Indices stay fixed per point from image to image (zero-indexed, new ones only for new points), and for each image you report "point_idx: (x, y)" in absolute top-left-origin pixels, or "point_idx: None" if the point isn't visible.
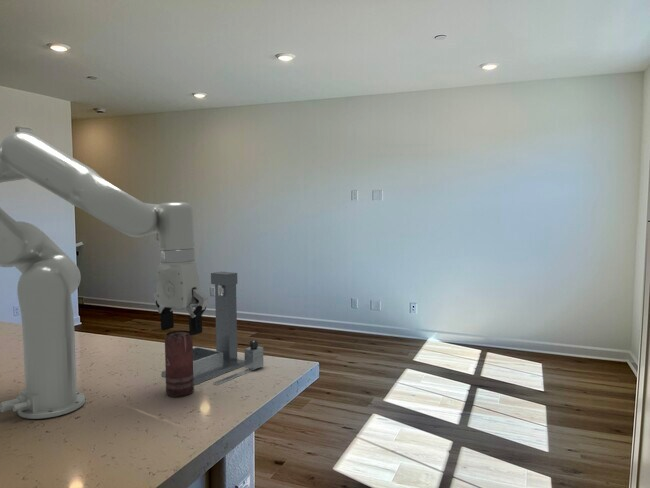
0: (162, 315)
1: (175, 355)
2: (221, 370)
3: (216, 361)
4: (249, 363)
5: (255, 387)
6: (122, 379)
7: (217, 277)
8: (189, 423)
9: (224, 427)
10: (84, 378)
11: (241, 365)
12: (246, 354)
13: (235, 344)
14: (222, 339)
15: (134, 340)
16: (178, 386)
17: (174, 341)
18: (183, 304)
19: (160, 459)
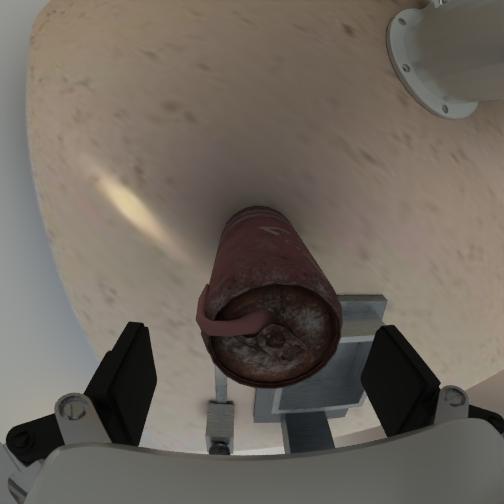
0: (419, 381)
1: (235, 248)
2: None
3: None
4: (219, 412)
5: None
6: (443, 235)
7: None
8: (98, 127)
9: (41, 161)
10: (495, 203)
11: (254, 410)
12: (227, 427)
13: (285, 446)
14: (312, 445)
15: (500, 367)
16: (232, 221)
17: (236, 272)
18: (49, 465)
19: (60, 31)
